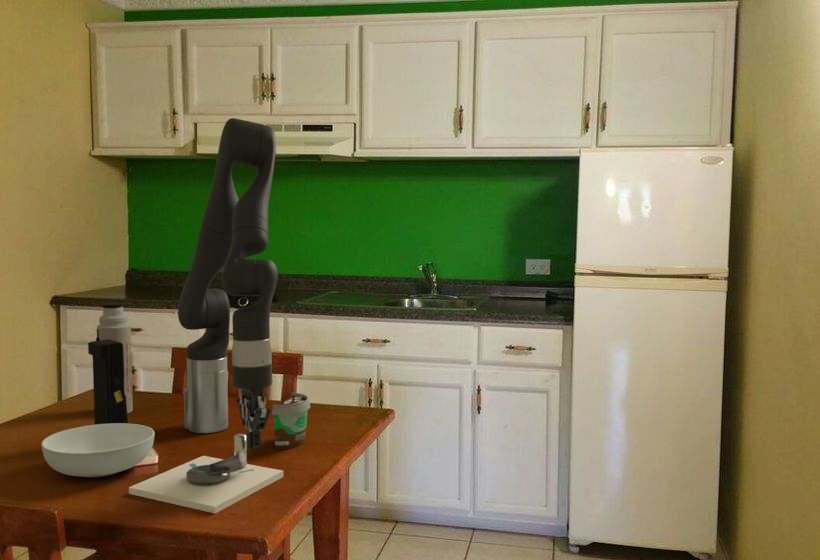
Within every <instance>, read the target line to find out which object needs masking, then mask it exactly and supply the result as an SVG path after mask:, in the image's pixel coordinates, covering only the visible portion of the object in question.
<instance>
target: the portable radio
mask: <svg viewBox="0 0 820 560" xmlns="http://www.w3.org/2000/svg"><path fill="white" fill-rule="evenodd" d="M95 331H96V338H95V340H92V341H90V342H87V344H88V345H87V349H88V350H87V351H88V355H92V380H93V382H92V383H93V409H94V412H93V413H94V417H93V418H94V424H93V425H97V424H112V423H127V424H129V423H128V421H129V420H128V413H127V404H126V395H125V393H124V352H123V344H122V343H121V342H117V341H113V340H109V339H107V340H100V338H99V335H98V331H99V330H97V329H95Z"/></svg>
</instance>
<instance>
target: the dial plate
mask: <svg viewBox="0 0 820 560" xmlns="http://www.w3.org/2000/svg"><path fill="white" fill-rule="evenodd" d="M221 460H224V459H223V458H217V457H212V456H208V455H202V456H200V457H197V458H194V459H193V460H190V461H187V462H185V463H183V464H180V465H178V466H176V467H173V468H171V469H168V470H167V471H164V472H162V473H159V474H157V475H154V476H153V477H149V478H148V479H146V480H143V481H141V482H138V483H136V484H134V485H132V486H131V485H130V486H129V487H128V494H129V495H133V496H137V497H141V498H146V499H150V500H155V501H159V502H163V503H168V504H173V505H177V506H180V507H186V508H190V509H195V510H199V511H203V512H208V513H212V514H218V513H220V512H221V511H222V510H224V509H227V508H228V507H230V506H232V505H234V504H236V503H237V502H239V501H241V500H243V499H245V498H247V497H248V496H250V495H252V494H255V493H256V492H258V491H259V490H262V489H263V488H265V487H267V486H269V485H271V484H272V483H274V482H276V481H279V480H280V479H282V478H284V470H282V469H276V468H270V467H266V466H265V467H264V466H259V465H254V464H250V463H247V466H245V467H239V468H236V469H233V470H231V471H230V477H229V478H228V479H227V480H225V481H222V482H219V483H214V484H193V483H190V482H188V481H187V478H186V473H187V471H188V470H190V469H192V468H194V467H198V466H202V465H210V464H212V463H215V462H218V461H221Z"/></svg>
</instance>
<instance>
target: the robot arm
mask: <svg viewBox="0 0 820 560" xmlns="http://www.w3.org/2000/svg"><path fill="white" fill-rule="evenodd" d="M218 146H219V147H218V150H217V151H218V152H217V155H216V156H217V157H216V163H215V168H214V174H213V180H212V184H211V188H210V192H209V196H208V199H207V204H206V206H205V209H204V212H203V213H204V214H203V217H202V220H201V223H200V224H201V225H200V228H199V232H198V233H199V234H198V238H197V244H196V247H195V251H194V253H193V254H194V256H193V259H192V263H191V264H190V269H189V272H188V274H187V277H186V279H185V283H184V284H183V288H182V291H181V294H180V297H179V300H178V305H177V316H178V317H177V318H178V321H179V324H180V326H181V327H182V328H183V329H186V330H191V331H193V330H205V332H204V334H203V335H201V336H200V337H199V338H198V339H196V340H195V341H193V342H191V343H189V344H188V346H187V347H186V380H187V381H186V382H187V383H186V385H187V386H186V388H184V389H183V403H184V406H183V407H184V412H183V413H184V429H186V430H188V431H189V432H192V433H196V434H197V433H198V434H211V433H218V432H221V431H224V430H227V429H228V428H229V400H228V399H229V398H228V397H229V396H228V389H229V388H228V385H229V384H228V382H229V381H228V348H229V345H230V327H231V326H230V325H231V324H230V322H231V321H232V347H231V369H232V371H231V372H232V386H233V387H234V388H235V389H239V390H241V391H240V396H239V397H236V404H237V406H238V407H237V408H238V411H239V415H240V420H241V424H242V426H244V430H245V431H246V437H247V450H249V451H250V452H255V451H260V450H261V442H262V441H261V432H262V430H266V426H267V424H268V420H269V417H270V414H271V408H270V407H269V406H267V407H266V404H267V400H266V399H267V398H266V395H265V390H264V389H265V388H268V387H270V386H272V384H273V367H272V366H273V365H272V361H273V360H272V359H273V358H272V357H273V356H272V346H271V336H270V335H271V332H270V331H271V330H270V326H271V325H270V320H271V319H270V315H271V314H270V313H271V307H272V302H273V297H274V295H275V291H276V287H277V283H278V279H279V271H278V268H277V266H276V263H274V262H273V260H271V259H268V258H257V259H256V258H254V259H253V258H249V257H253V256H256V255H260V254H262V253H264V252H265V251H266V249H267V248H268V245H269V203H270V197H271V189H272V184H273V176H274V168H275V161H276V153H277V136H276V132H275V130H274V128H272V126H269V125H266V124H262V123H257V122H252V121H249V120H244V119H238V118H236V117H235V118H233V117H232V118H229V119H228V120H226V121H225V124H224V126H223V129H222V131H221V136H220V141H219V145H218ZM234 164H237V165H242V166H247V167H251V168H256V170H257V171H256V175H255V178H254V180H253V182H252V183H251V185H249V187H248V188H247V189H246V191H245V192H244V193H243V194H242V196H240V198H239V197H238V194H237V192H236V188H235V185H234V181H233V174H232V173H233V172H232V171H233V166H234ZM220 271H222V272H221V277H220V279H221V286H222V288H223V289H221V288H209V287H210V285H211V283H213V280H214V278H215V277H216V276H217V274H218V273H220ZM228 295H229V296H233V297H241V296H250V297H251V296H259V299H258V301H257V302H256V303H255V304H253V305H250V306H246V307H241V308H238V309H236V310H234V312H233V313H232V318H231V304H230V300H229V297H228Z"/></svg>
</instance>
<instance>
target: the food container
mask: <svg viewBox="0 0 820 560" xmlns="http://www.w3.org/2000/svg"><path fill="white" fill-rule="evenodd" d="M310 408H311V403H310V399H309V397H308V396H307V395H305V394H303V393H301V392H300V393H299V392H291V395H290V397H289V398H288V399H284V400H283V401H281V403H279V404H272V412H271V413H272V416H273V430H274V431H273V432H274V445H275V446H274V449H275V450H278V449H279V450H283V449H286V450H287V449H293V448H298V447H302V446H303V445H304V444H305V443H306V438H307V437H306V435H307V420H308V410H310Z"/></svg>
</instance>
